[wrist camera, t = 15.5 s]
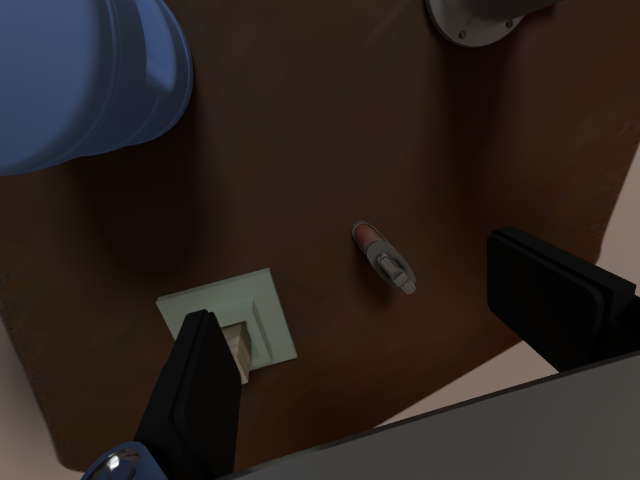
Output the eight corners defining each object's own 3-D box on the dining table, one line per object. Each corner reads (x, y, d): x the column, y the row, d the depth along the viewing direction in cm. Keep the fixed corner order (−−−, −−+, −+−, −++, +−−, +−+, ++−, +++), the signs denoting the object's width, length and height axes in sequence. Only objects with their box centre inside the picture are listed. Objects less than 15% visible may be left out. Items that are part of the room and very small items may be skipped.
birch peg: (242, 316, 44) (236, 357, 36) (251, 338, 45) (248, 382, 38) (213, 324, 44) (202, 367, 36) (223, 346, 45) (215, 392, 38)
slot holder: (269, 267, 43) (269, 283, 39) (296, 351, 49) (298, 372, 45) (158, 297, 42) (147, 316, 38) (199, 379, 48) (194, 402, 44)
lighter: (398, 254, 45) (432, 290, 36) (380, 269, 46) (408, 309, 37) (364, 214, 42) (391, 244, 33) (345, 231, 43) (366, 264, 34)
